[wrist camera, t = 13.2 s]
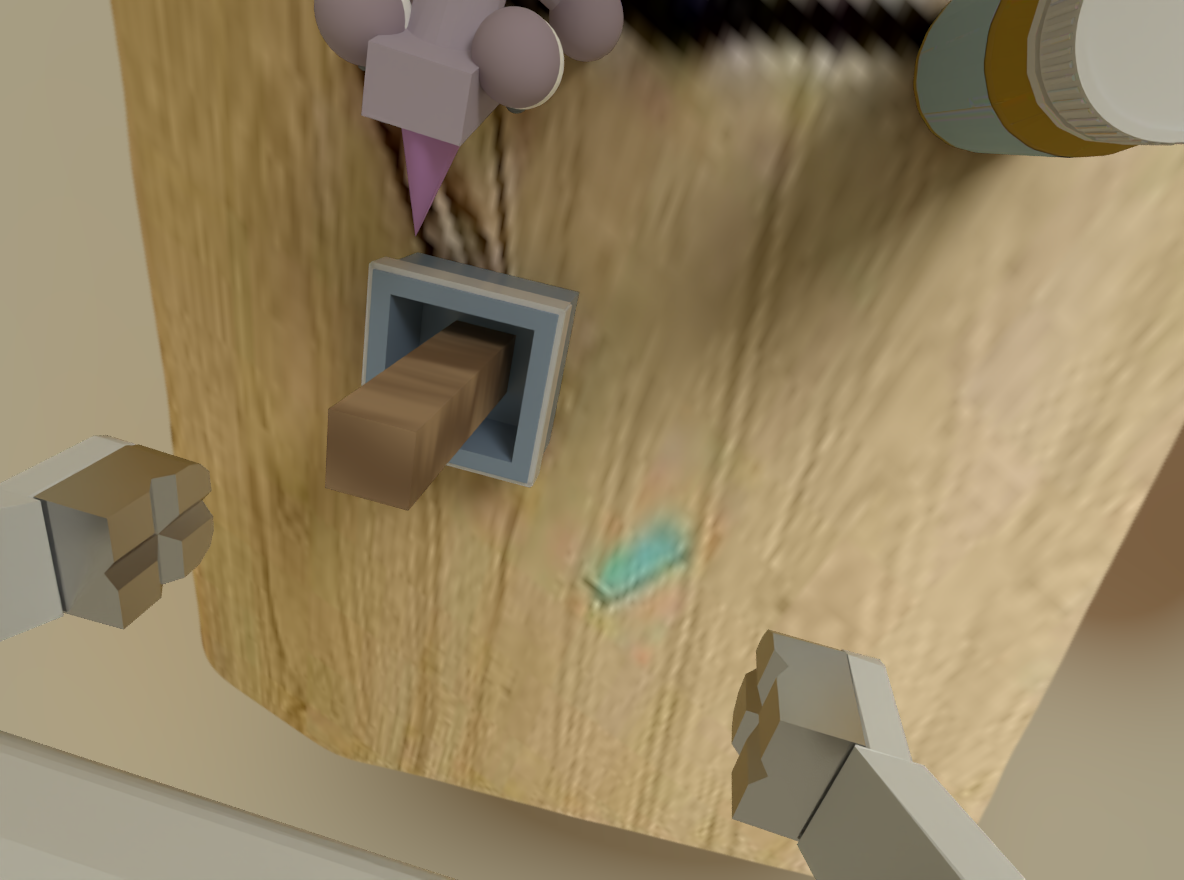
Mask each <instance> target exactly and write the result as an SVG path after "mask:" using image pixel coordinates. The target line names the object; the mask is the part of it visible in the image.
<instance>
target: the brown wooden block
mask: <svg viewBox="0 0 1184 880" xmlns="http://www.w3.org/2000/svg"><path fill="white" fill-rule="evenodd" d="M515 339H516V335H513V334H509V333H505V332H501V331H497V330H493V329H490V328H486V327H482V326H478V325H474V324H470V323H466V322H462V321H458V320H456V321H455V322H453V323H452V324H450V325H449V326H447V327H446V328H445V329H443V330H442V331H440V332H439V333H437V334H436V335H434V336H433V337H432V338H430V339H429V340H427V341H426V342H424V343H423V344H421V345H420V346H419V347H417V348H416V349H414V350H413V351H411V352H410V353H408V354H407V355H406V356H404V357H403V358H401V359H400V360H398V361H397V362H395V363H394V364H393V365H391V366H390V367H388V368H387V369H385V370H384V371H382V372H381V373H380V374H378V375H377V376H375V377H374V378H372V379H371V380H370V381H368V382H367V383H365V384H364V385H362V386H361V387H359V388H358V389H357V390H355V391H354V392H352V393H351V394H349V395H348V396H346V397H345V398H344V399H342V400H341V401H339V402H338V403H336V404H335V405H333V406H332V407H331V408H329V409H328V434H327V458H326V482H325V488H328V489H331V490H335V491H339V492H342V493H346V494H350V495H353V496H357V497H360V498H364V499H368V500H371V501H375V502H379V503H382V504H386V505H390V506H393V507H397V508H401V509H404V510H409V509H410V508H411V507H412V505H413V504H414V503H415V502H416V501H417V499H418V498H419V497H420V496H421V495H422V493H423V492H424V491H425V490H426V489H427V487H428V486H429V485H430V484H431V483H432V481H433V480H434V479H435V478H436V477H437V475H438V474H439V473H440V472H441V471H442V469H443V468H444V467H445V466H446V465H447V463H448V462H449V461H450V460H451V459H452V457H453V456H454V455H455V454H456V453H457V451H458V450H459V449H460V448H461V447H462V445H463V444H464V443H465V442H466V441H467V439H468V438H469V437H470V436H471V435H472V434H473V432H474V431H475V430H476V429H477V428H478V426H479V425H480V424H481V423H482V422H483V420H484V419H485V418H486V417H487V416H488V414H489V413H490V412H491V411H492V410H493V408H494V407H495V406H496V405H497V404H498V402H499V401H500V400H501V399H502V398H503V396H504V395H505V394H506V393H507V388H508V382H509V376H510V370H511V364H512V358H513V352H514V345H515Z"/></svg>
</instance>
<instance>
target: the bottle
mask: <svg viewBox="0 0 1184 880" xmlns="http://www.w3.org/2000/svg"><path fill="white" fill-rule="evenodd" d="M913 89H914V94H915V99H916V104H917V108H918V111H919V114H920V115H921V117H922V119H923V120H924V122H925V123H926V125H927V127H928V128H929V130H930V131H931V132H932V133H933V134H934V135H936V136H937V137H939V138H940V139H941V140H943V141H944V142H945V143H947V144H948V145H951V146H953V147H956V148H960V149H963V150H967V151H972V152H977V153H992V154H1010V155H1028V156H1046V157H1064V158H1072V157H1090V156H1104V155H1109V154H1114V153H1117V152H1120V151H1123V150H1125V149H1128V148H1131V147H1134V146H1137V145H1174V144H1184V0H952V1H951V2H949V3H948V5H947V6H946V7H945V8H944V9H943V10H942V11H941V13H940V14H939V15H938V17H937V18H936V19H935V21H934V22H933V23H932V25H931V26H930V28H929V29H928V31H927V33H926V35H925V37H924V40H923V42H922V45H921V47H920V49H919V52H918V54H917V58H916V62H915V71H914V80H913Z"/></svg>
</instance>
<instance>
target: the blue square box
mask: <svg viewBox="0 0 1184 880" xmlns="http://www.w3.org/2000/svg"><path fill="white" fill-rule="evenodd" d="M578 296H579V292H576V291H572V290H568V289H564V288H560V287H556V286H552V285H548V284H543V283H539V282H535V281H531V280H527V279H523V278H519V277H515V276H511V275H507V274H503V273H499V272H495V271H491V270H487V269H483V268H479V267H475V266H471V265H467V264H462V263H458V262H454V261H450V260H446V259H442V258H438V257H434V256H430V255H426V254H422V253H418V252H417V253H415V254H412V255H409V256H407V257H404V258H401V259H399V260H398V259H394V258H390V257H383V258H380V259H377V260H374V261H372V262H371V263H369V273H368V289H367V305H366V321H365V337H364V353H363V368H362V384H361V386H362V385H364V384H365V383H367V382H368V381H370V380H371V379H372V378H374V377H375V376H377V375H378V374H380V373H381V372H382V371H384V370H385V369H387V368H388V367H390V366H391V365H393V364H394V363H395V362H397V361H398V360H400V359H401V358H403V357H404V356H406V355H407V354H408V353H410V352H411V351H413V350H414V349H416V348H417V347H419V346H420V345H421V344H423V343H424V342H426V341H427V340H429V339H430V338H432V337H433V336H434V335H436V334H437V333H439V332H440V331H442V330H443V329H445V328H446V327H447V326H449V325H450V324H452V323H453V322H455V321H456V320H458V321H462V322H466V323H470V324H474V325H478V326H482V327H486V328H490V329H493V330H497V331H501V332H505V333H509V334H513V335H516V339H515V345H514V352H513V358H512V364H511V370H510V376H509V382H508V388H507V393H506V394H505V395H504V396H503V398H502V399H501V400H500V401H499V402H498V404H497V405H496V406H495V407H494V408H493V410H492V411H491V412H490V413H489V414H488V416H487V417H486V418H485V419H484V420H483V422H482V423H481V424H480V425H479V426H478V428H477V429H476V430H475V431H474V432H473V434H472V435H471V436H470V437H469V438H468V439H467V441H466V442H465V443H464V444H463V445H462V447H461V448H460V449H459V450H458V451H457V453H456V454H455V455H454V456H453V457H452V459H451V460H450V461H449V462H448V463H447V465H448V466H451V467H455V468H459V469H463V470H466V471H470V472H474V473H478V474H481V475H485V476H489V477H492V478H496V479H500V480H504V481H507V482H511V483H515V484H519V485H522V486H526V487H531V486H533V484H534V482H535V481H536V479H537V477H538V475H539V473H540V467H541V462H542V457H543V453H544V452H545V450H546V448H547V446H548V444H549V443H550V437H551V432H552V427H553V422H554V417H555V412H556V407H557V402H558V397H559V392H560V387H561V382H562V377H563V372H564V367H565V362H566V357H567V352H568V347H569V342H570V337H571V332H572V327H573V322H574V316H575V311H576V306H577V301H578Z"/></svg>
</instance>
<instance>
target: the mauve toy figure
mask: <svg viewBox="0 0 1184 880" xmlns="http://www.w3.org/2000/svg"><path fill="white" fill-rule="evenodd" d="M539 1H541V2H542V3H543V4H544V5H545V6H546V7H547V8H548V9H549V10H550V11H549V24H548V23H547V22H546V21H545V20H544V19H543V18H542V17H541V16H539V15H538V14H536V13H535V12H534V11H531V10H529V9H527V8H523V7H518V6H509V7H504V6H505V2H506V0H314V12H315V18H316V22H317V26H318V28H319V30H320V33H321V35H322V36H323V38H324V40H325V41H326V43H327V44H328V45H329V47H330V48H331V49H332V50H333V51H334V52H335V53H336V54H337V55H339V56H340V57H341V58H343V59H345V60H346V61H348V62H350V63H353V64H355V65H358V67H359V68H360V69H361V70H363V71H365V81H364V92H363V103H362V113H361V115H362V116H365V117H369V118H372V119H375V120H378V121H381V122H384V123H388V124H391V125H394V126H397V127H400V128H402V135H403V143H404V151H405V158H406V166H407V174H408V182H409V189H410V197H411V205H412V213H413V221H414V228H415V236H416V235H417V233H418V231H419V229H420V227H421V225H422V223H423V221H424V219H425V217H426V215H427V213H428V210H429V208H430V206H431V204H432V202H433V200H434V198H435V196H436V194H437V192H438V190H439V188H440V186H441V184H442V182H443V180H444V178H445V176H446V174H447V172H448V170H449V168H450V165H451V163H452V161H453V159H454V157H455V155H456V153H457V151H458V149H459V147H460V146H461V145H462V144H463V143H464V142H465V141H466V139H467V138H468V137H469V136H470V135H471V134H472V133H473V132H474V131H475V130H476V129H477V127H478V126H479V125H480V124H481V123H482V122H483V121H484V120H485V119H486V118H487V117H488V116H489V114H490V113H491V112H492V111H493V110H494V109H495V108H496V107H497V106H498V105H499V104H502V105H504V106H506V107H507V109H508V110H509V111H510V112H512V113H522V112H523V111H525V110H526V109H531V108H535V107H537V106H539V105H541V104H543V103H545V102H546V101H547V100H548V99H549V98H550V97H552V95H553V94H554V93H555V91H556V90H557V88H558V86H559V84H560V82H561V79H562V75H563V71H564V55H563V52H564V53H565V54H566V55H567V56H569V57H570V58H573V59H575V60H578V61H587V62H589V61H594V60H598V59H600V58H602V57H604V56H605V55H607V54H608V53H609V52H610V51H611V50H612V49H613V48H614V46H615V45H616V44H617V42H618V40H619V38H620V35H621V32H622V27H623V8H622V4H621V1H620V0H539Z"/></svg>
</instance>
